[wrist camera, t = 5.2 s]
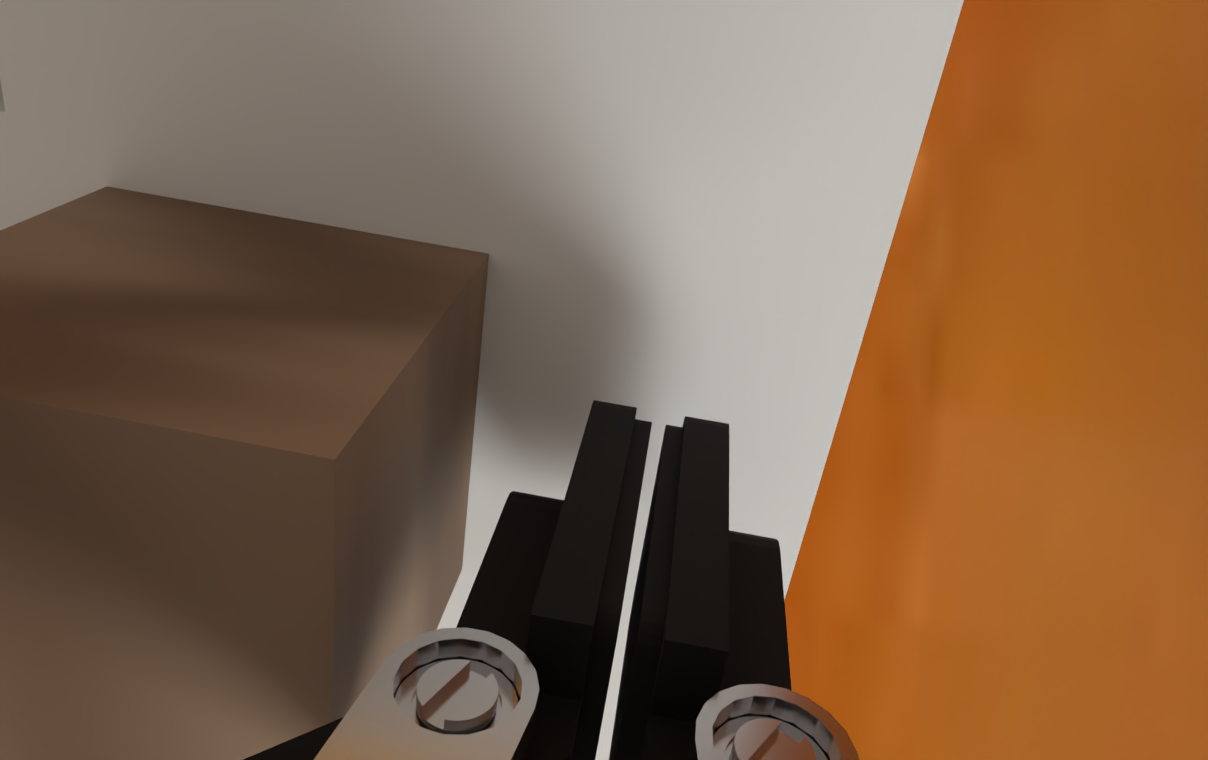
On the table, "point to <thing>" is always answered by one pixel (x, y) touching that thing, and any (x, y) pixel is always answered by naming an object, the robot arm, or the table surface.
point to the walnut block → (221, 471)
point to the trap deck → (537, 193)
